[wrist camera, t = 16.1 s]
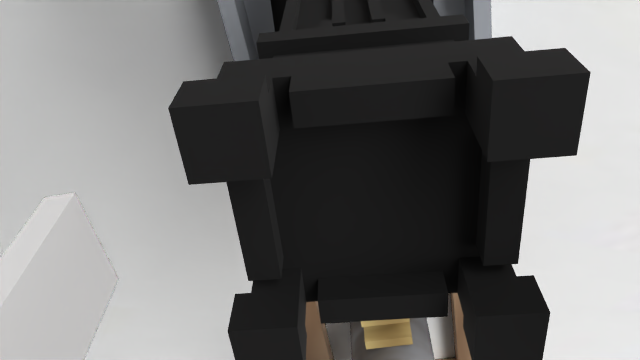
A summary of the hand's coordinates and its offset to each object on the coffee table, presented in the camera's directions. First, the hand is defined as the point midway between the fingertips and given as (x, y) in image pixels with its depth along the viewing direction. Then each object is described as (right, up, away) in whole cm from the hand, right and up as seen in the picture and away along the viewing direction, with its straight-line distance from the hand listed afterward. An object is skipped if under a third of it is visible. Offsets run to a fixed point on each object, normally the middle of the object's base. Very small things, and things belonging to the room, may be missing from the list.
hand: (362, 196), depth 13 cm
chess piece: (+1, +10, +16) cm, 18 cm away
